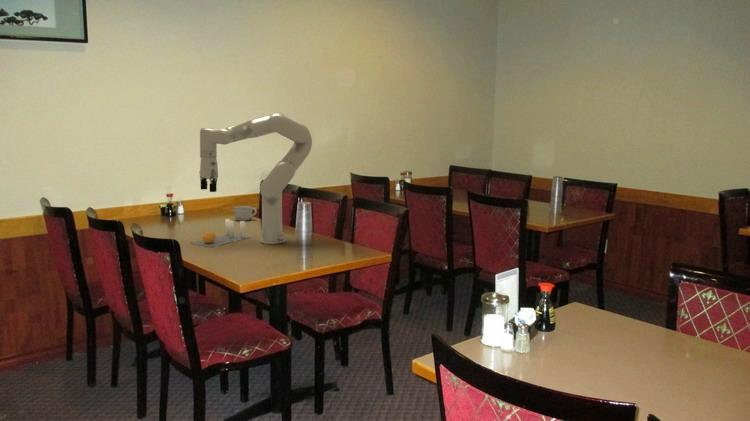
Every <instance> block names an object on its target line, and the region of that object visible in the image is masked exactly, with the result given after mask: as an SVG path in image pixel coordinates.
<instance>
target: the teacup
mask: <svg viewBox="0 0 750 421" xmlns="http://www.w3.org/2000/svg"><path fill="white" fill-rule="evenodd" d="M253 210H254V213H253ZM257 210H258V209H257V208H256V207H253V206H249V205H247V206H246V205H241V206H234V207H233V216H234V218H235V219H236V221H239V222H240V221H245V222H246V221H250V220H251V219H252V218H253V217H254V216H256V215H257V213H258V211H257Z"/></svg>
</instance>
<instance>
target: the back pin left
mask: <svg viewBox="0 0 750 421" xmlns="http://www.w3.org/2000/svg"><path fill="white" fill-rule="evenodd" d="M239 233H240V234H239V235H240V238H245V236H246V221H239Z"/></svg>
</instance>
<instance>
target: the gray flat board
mask: <svg viewBox="0 0 750 421" xmlns="http://www.w3.org/2000/svg"><path fill="white" fill-rule="evenodd" d="M250 238H252V237H251V236H246V235H245V238H240V234H234V238H229V236H226V234H225V235H221V236H220V235H219V236H216V238H215V241H214V242H213V243H210V244H207V243H205V242H204V241H203V239H202V240H198V241H194V242H191V243H190V244H191V245H196V246H203V247H208V248H215V247H219V246H223V245H226V244H230V243H234V242H239V241H242V240H246V239H247V240H248V239H250Z"/></svg>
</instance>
